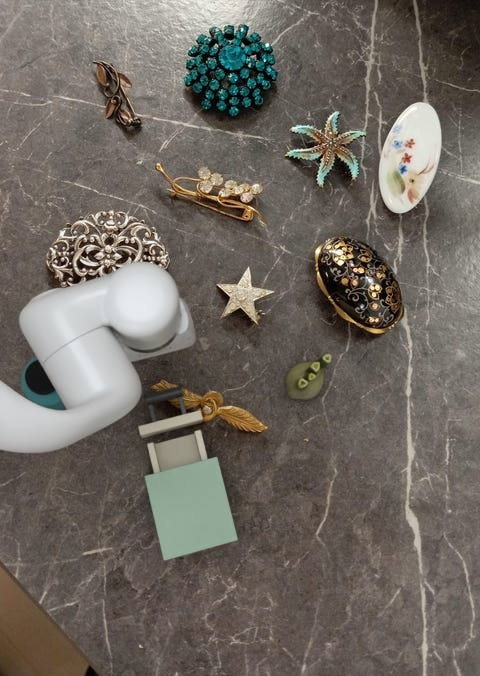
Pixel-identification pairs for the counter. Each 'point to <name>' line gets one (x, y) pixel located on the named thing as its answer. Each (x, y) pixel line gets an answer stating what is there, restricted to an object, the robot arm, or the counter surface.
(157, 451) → the drawer
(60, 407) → the beverage bottle
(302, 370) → the fennel bulb
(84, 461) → the counter surface
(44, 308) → the robot arm
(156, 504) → the green drawer cabinet
